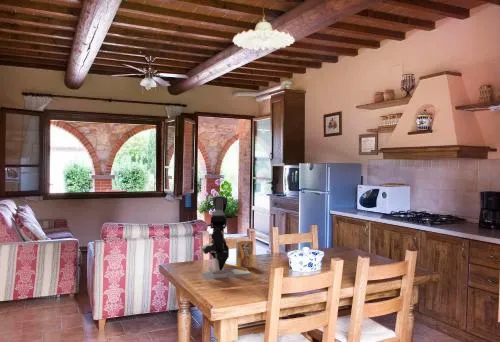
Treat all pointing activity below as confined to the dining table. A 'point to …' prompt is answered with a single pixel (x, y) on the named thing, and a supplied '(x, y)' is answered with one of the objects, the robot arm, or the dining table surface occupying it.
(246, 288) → the dining table surface
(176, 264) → the dining table surface
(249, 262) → the candy box
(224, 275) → the socket board
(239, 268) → the clip
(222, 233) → the robot arm
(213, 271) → the plug
